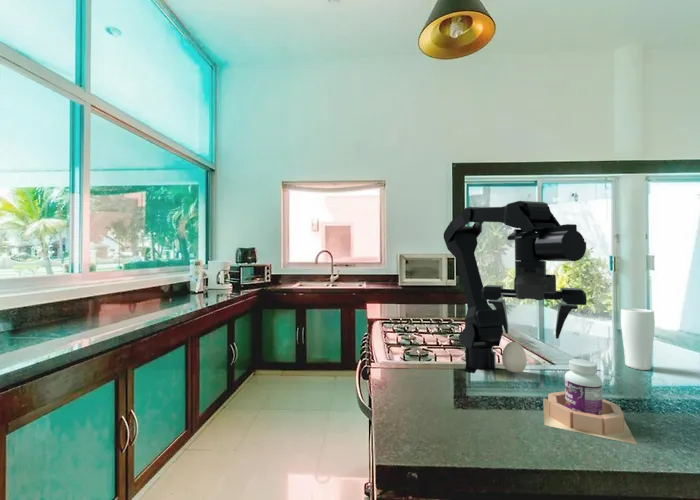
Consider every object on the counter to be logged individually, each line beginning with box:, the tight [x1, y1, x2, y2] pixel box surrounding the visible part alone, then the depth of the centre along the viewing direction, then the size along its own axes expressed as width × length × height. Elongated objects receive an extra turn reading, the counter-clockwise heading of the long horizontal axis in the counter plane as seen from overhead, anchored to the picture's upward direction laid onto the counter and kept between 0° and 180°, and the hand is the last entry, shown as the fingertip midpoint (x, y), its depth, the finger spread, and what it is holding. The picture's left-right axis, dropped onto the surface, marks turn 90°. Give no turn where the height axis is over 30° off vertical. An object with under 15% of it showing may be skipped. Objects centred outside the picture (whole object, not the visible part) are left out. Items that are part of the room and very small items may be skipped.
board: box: [542, 398, 638, 446], centre depth 58 cm, size 12×12×1 cm
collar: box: [547, 390, 625, 435], centre depth 58 cm, size 10×10×2 cm
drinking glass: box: [620, 307, 656, 371], centre depth 88 cm, size 7×7×15 cm
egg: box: [501, 341, 528, 373], centre depth 83 cm, size 6×6×8 cm
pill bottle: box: [564, 358, 603, 415], centre depth 58 cm, size 5×5×10 cm
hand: (531, 335), depth 70 cm, fingers open, 9 cm apart
